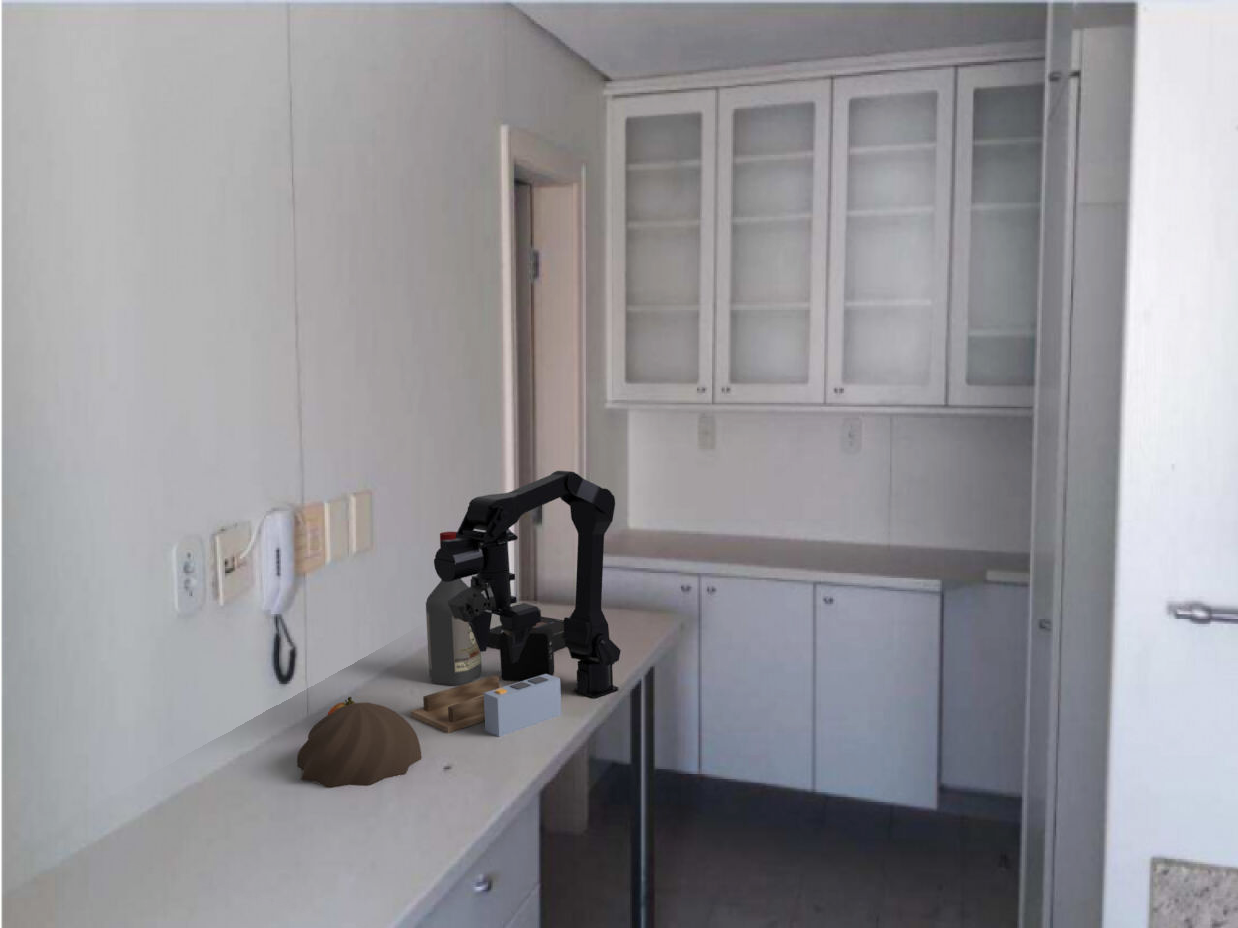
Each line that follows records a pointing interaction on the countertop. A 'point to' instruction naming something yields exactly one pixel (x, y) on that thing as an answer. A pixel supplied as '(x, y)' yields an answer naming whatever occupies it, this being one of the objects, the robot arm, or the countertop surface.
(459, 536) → the robot arm
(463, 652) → the liquor
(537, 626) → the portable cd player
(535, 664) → the electronic device
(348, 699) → the tomato
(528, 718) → the power strip
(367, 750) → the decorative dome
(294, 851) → the countertop surface
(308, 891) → the countertop surface
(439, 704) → the dock
